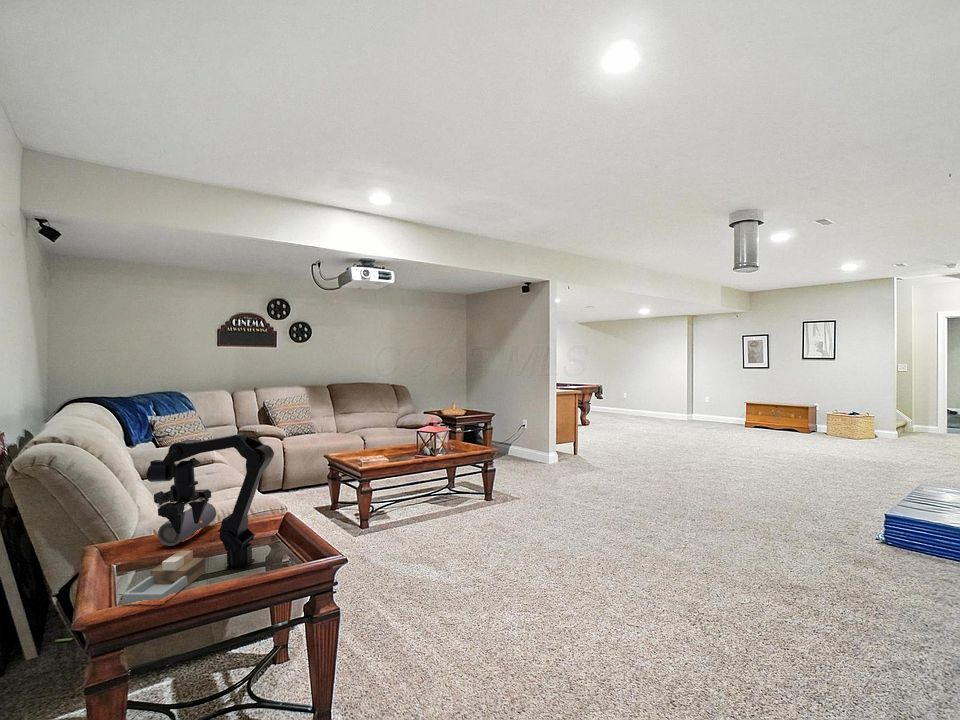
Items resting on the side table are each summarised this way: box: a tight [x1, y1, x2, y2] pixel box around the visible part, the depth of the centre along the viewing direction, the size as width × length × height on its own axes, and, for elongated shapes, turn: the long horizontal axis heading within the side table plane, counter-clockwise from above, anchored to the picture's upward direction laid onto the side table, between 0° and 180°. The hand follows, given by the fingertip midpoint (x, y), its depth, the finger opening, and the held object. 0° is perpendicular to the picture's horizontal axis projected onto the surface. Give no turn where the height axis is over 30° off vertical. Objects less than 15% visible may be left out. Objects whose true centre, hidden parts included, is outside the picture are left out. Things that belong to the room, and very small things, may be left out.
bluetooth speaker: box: [157, 502, 217, 547], centre depth 185 cm, size 23×9×10 cm, turn 179°
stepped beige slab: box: [149, 557, 206, 587], centre depth 151 cm, size 11×9×4 cm
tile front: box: [161, 555, 184, 571], centre depth 149 cm, size 4×4×2 cm
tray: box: [121, 575, 188, 605], centre depth 141 cm, size 11×11×3 cm
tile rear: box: [171, 550, 194, 564], centre depth 153 cm, size 4×4×2 cm
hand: (187, 528), depth 160 cm, fingers open, 9 cm apart
